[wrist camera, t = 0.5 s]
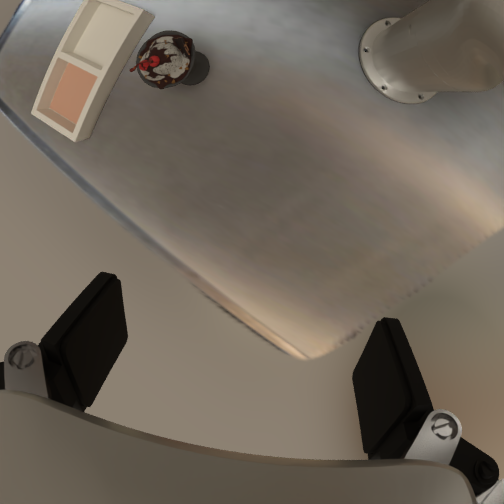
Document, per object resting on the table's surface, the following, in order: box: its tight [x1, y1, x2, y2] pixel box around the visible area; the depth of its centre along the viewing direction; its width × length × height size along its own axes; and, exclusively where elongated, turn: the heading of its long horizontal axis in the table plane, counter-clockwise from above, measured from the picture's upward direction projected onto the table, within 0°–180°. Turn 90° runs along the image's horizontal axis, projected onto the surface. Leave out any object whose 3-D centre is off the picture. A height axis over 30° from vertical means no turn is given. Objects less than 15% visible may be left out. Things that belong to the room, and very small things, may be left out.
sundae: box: [130, 31, 209, 89], centre depth 29 cm, size 7×7×15 cm
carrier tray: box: [31, 0, 155, 142], centre depth 34 cm, size 21×11×4 cm, turn 146°
